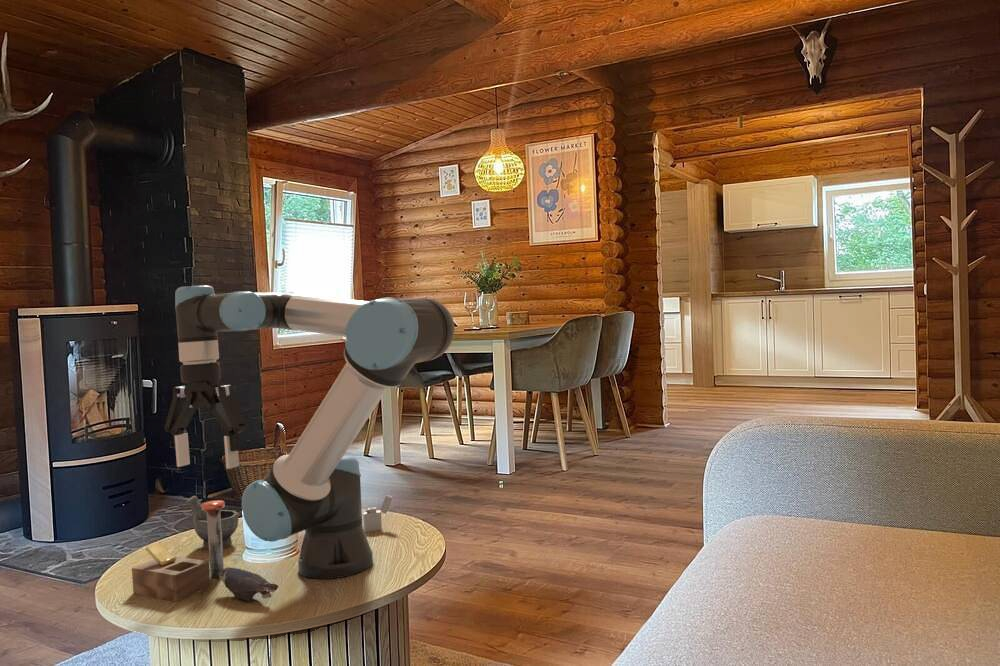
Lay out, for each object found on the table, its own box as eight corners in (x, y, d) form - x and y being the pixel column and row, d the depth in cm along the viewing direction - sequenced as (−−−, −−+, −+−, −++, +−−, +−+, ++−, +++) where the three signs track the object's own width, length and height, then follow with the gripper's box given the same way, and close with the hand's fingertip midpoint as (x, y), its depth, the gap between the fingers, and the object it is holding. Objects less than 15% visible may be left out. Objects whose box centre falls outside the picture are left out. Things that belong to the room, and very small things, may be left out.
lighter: (364, 532, 182) (362, 498, 182) (363, 530, 184) (362, 497, 183) (394, 528, 184) (392, 495, 184) (393, 526, 186) (391, 493, 185)
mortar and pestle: (240, 536, 183) (237, 487, 182) (238, 548, 174) (235, 496, 173) (190, 542, 180) (187, 492, 179) (185, 554, 171) (182, 501, 170)
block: (210, 586, 150) (209, 561, 150) (176, 601, 143) (175, 575, 142) (167, 579, 155) (166, 554, 155) (133, 593, 148) (131, 567, 148)
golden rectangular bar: (174, 562, 150) (176, 558, 150) (161, 567, 148) (162, 564, 147) (158, 545, 152) (160, 541, 152) (144, 549, 149) (146, 546, 149)
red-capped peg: (233, 573, 157) (229, 501, 156) (216, 580, 153) (212, 506, 152) (217, 571, 159) (213, 499, 158) (201, 578, 155) (196, 505, 154)
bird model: (266, 610, 136) (264, 583, 136) (208, 594, 146) (207, 568, 145) (285, 602, 140) (284, 575, 140) (228, 586, 149) (227, 561, 149)
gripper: (260, 358, 153) (267, 464, 153) (170, 362, 163) (178, 461, 164) (232, 362, 146) (240, 472, 146) (141, 365, 157) (149, 468, 157)
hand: (207, 466), depth 155 cm, fingers open, 13 cm apart
